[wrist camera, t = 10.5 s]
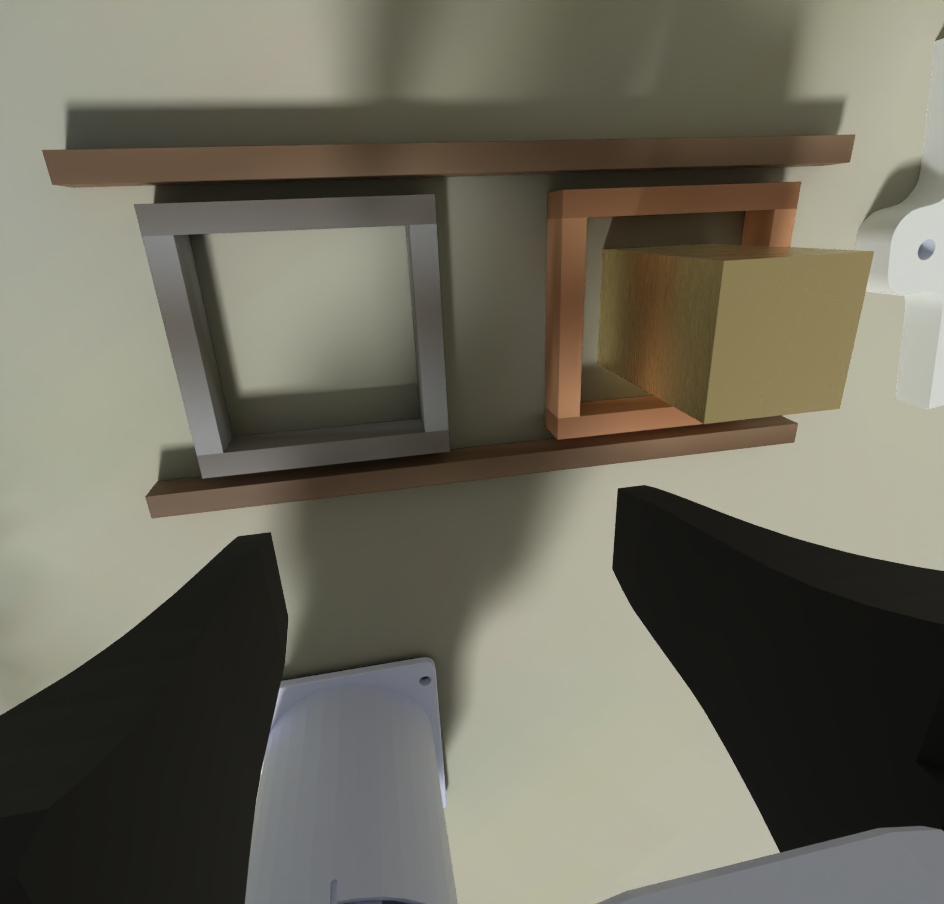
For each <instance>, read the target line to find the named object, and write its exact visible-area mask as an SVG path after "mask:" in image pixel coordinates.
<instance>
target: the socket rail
mask: <svg viewBox="0 0 944 904" xmlns="http://www.w3.org/2000/svg"><path fill="white" fill-rule="evenodd" d="M854 139H855V135H808V136H756V137H704V138H651V139H599V140H546V141H494V142H442V143H389V144H337V145H284V146H232V147H179V148H127V149H75V150H42V152H43V155H44V158H45V162H46V165H47V168H48V172H49V175H50V178H51V182H52V185H59V186H66V187H107V186H142V185H176V184H210V183H245V182H279V181H314V180H348V179H383V178H417V177H451V176H486V175H520V174H555V173H589V172H624V171H658V170H692V169H727V168H761V167H796V166H824V165H832V164H840V163H847V162H850V159H851V154H852V149H853V144H854ZM800 186H801V182H777V183H748V184H719V185H689V186H660V187H630V188H601V189H572V190H559V191H553V192H548V196H547V278H546V361H545V427H546V428H547V429H548V430H549V431H550V432H551V433H552V434H553V435H554V436H555V438H553V439H544V440H534V441H525V442H516V443H507V444H498V445H488V446H479V447H470V448H461V449H452V450H450V444H449V427H448V410H447V393H446V376H445V359H444V342H443V325H442V308H441V291H440V274H439V257H438V240H437V223H436V206H435V194H425V195H395V196H366V197H336V198H307V199H278V200H248V201H219V202H189V203H160V204H134V207H135V211H136V215H137V219H138V223H139V227H140V231H141V235H142V239H143V243H144V247H145V251H146V255H147V259H148V263H149V267H150V271H151V275H152V279H153V283H154V287H155V291H156V295H157V299H158V303H159V307H160V311H161V315H162V319H163V323H164V327H165V331H166V335H167V339H168V343H169V347H170V351H171V355H172V359H173V363H174V367H175V371H176V375H177V379H178V383H179V387H180V391H181V395H182V399H183V403H184V407H185V411H186V415H187V419H188V423H189V427H190V431H191V435H192V439H193V443H194V447H195V451H196V455H197V459H198V463H199V467H200V471H201V475H202V477H194V478H185V479H175V480H166V481H157V483H156V484H155V485H154V486H153V488H152V489H151V490H150V492H149V493H148V494H147V495H146V501H147V504H148V507H149V511H150V514H151V518H159V517H167V516H176V515H184V514H193V513H201V512H210V511H218V510H226V509H235V508H243V507H252V506H260V505H269V504H277V503H286V502H294V501H303V500H311V499H319V498H328V497H336V496H345V495H353V494H362V493H370V492H379V491H387V490H396V489H404V488H412V487H421V486H429V485H438V484H446V483H455V482H463V481H472V480H480V479H489V478H497V477H505V476H514V475H522V474H531V473H539V472H548V471H556V470H565V469H573V468H581V467H590V466H598V465H607V464H615V463H624V462H632V461H641V460H649V459H658V458H666V457H674V456H683V455H691V454H700V453H708V452H717V451H725V450H734V449H742V448H751V447H759V446H767V445H776V444H784V443H793V442H794V441H795V436H796V431H797V426H798V423H796V422H793V421H791V420H789V419H787V418H785V417H782V416H780V415H779V416H770V417H762V418H753V419H744V420H735V421H727V422H718V423H709V424H703V423H701V422H699V421H698V420H696V419H694V418H692V417H691V416H689V415H687V414H685V413H684V412H682V411H680V410H678V409H677V408H675V407H673V406H671V405H670V404H668V403H666V402H664V401H663V400H661V399H659V398H657V397H656V396H654V395H652V396H642V397H632V398H621V399H611V400H601V401H591V402H581V403H580V394H581V368H582V341H583V314H584V288H585V261H586V235H587V217H610V216H634V215H657V214H681V213H704V212H728V211H746V213H745V220H744V227H743V235H742V242H741V245H753V246H774V247H790V244H791V239H792V233H793V227H794V221H795V215H796V209H797V203H798V198H799V192H800ZM400 225H406V238H407V251H408V263H409V276H410V289H411V301H412V314H413V327H414V339H415V352H416V365H417V378H418V390H419V403H420V416H421V418H419V419H409V420H398V421H388V422H378V423H368V424H358V425H348V426H338V427H327V428H317V429H307V430H297V431H287V432H277V433H267V434H256V435H246V436H236V437H233V435H232V431H231V426H230V422H229V417H228V413H227V408H226V403H225V399H224V394H223V390H222V385H221V381H220V376H219V372H218V367H217V362H216V358H215V353H214V349H213V344H212V340H211V335H210V331H209V326H208V321H207V317H206V312H205V308H204V303H203V299H202V294H201V290H200V285H199V280H198V276H197V271H196V267H195V262H194V258H193V253H192V249H191V244H190V239H189V234H212V233H235V232H259V231H282V230H306V229H329V228H353V227H376V226H400Z"/></svg>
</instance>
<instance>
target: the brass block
mask: <svg viewBox="0 0 944 904" xmlns="http://www.w3.org/2000/svg"><path fill="white" fill-rule="evenodd" d="M873 255H874V251H857V250H836V249H816V248H795V247H774V246H753V245H732V244H711V243H706V244H689V245H672V246H655V247H638V248H621V249H603V250H602V271H601V294H600V317H599V340H598V362H597V363H598V364H599V365H601V366H603V367H605V368H606V369H608V370H610V371H612V372H613V373H615V374H617V375H619V376H620V377H622V378H624V379H626V380H627V381H629V382H631V383H633V384H634V385H636V386H638V387H640V388H642V389H643V390H645V391H647V392H649V393H650V394H652V395H654V396H656V397H657V398H659V399H661V400H663V401H664V402H666V403H668V404H670V405H671V406H673V407H675V408H677V409H678V410H680V411H682V412H684V413H685V414H687V415H689V416H691V417H692V418H694V419H696V420H698V421H699V422H701V423H703V424H709V423H718V422H727V421H735V420H744V419H753V418H762V417H770V416H779V415H788V414H797V413H806V412H814V411H823V410H832V409H840V405H841V400H842V396H843V391H844V387H845V382H846V378H847V373H848V368H849V364H850V359H851V355H852V350H853V346H854V341H855V337H856V332H857V328H858V323H859V319H860V314H861V310H862V305H863V301H864V296H865V291H866V287H867V282H868V278H869V273H870V269H871V264H872V260H873Z"/></svg>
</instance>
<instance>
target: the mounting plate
mask: <svg viewBox="0 0 944 904" xmlns="http://www.w3.org/2000/svg"><path fill="white" fill-rule="evenodd" d="M854 250H857V251H874V255H873V260H872V264H871V269H870V273H869V278H868V282H867V287H866V291H868V292H876V293H883V294H891V295H899V296H904V298H905V315H904V324H903V333H902V342H901V351H900V360H899V369H898V378H897V387H896V396H895V399H898V400H901V401H904V402H907V403H910V404H913V405H916V406H920V407H923V408H926V409H932V408H935V407H939V406H942V405H944V38H943V39H940V40H937V41H935V44H934V53H933V62H932V71H931V80H930V89H929V98H928V107H927V116H926V125H925V134H924V143H923V152H922V161H921V170H920V175H919V179H918V182H917V184H916V186H915V188H914V190H913V191H912V193H911V194H910V195H909V196H908V197H907V198H906V199H905V200H904V201H902V202H901V203H900V204H897V205H895V206H892V207H888V208H884V209H880V210H878V211H875V212H874V213H872V214H871V215H869V216H868V217H867V218H866V219H865V220H864V222H863V223H862V225H861V226H860V228H859V230H858V232H857V235H856V239H855V246H854Z"/></svg>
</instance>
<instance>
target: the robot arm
mask: <svg viewBox="0 0 944 904" xmlns="http://www.w3.org/2000/svg"><path fill="white" fill-rule="evenodd" d="M612 569H613V571H614V573H615V575H616V577H617V579H618V581H619V583H620V586H621V588H622V590H623V591H624V593H625V595H626V597H627V599H628V601H629V603H630V605H631V606H632V608H633V609H634V611H635V612H636V614H637V615H638V617H639V618H640V620H641V621H642V622H643V624H644V625H645V627H646V628H647V630H648V631H649V632H650V634H651V635H652V637H653V638H654V640H655V641H656V642H657V644H658V645H659V646H660V648H661V649H662V651H663V652H664V653H665V655H666V656H667V658H668V659H669V660H670V662H671V663H672V665H673V666H674V667H675V669H676V670H677V672H678V673H679V674H680V676H681V677H682V678H683V680H684V681H685V683H686V684H687V685H688V687H689V688H690V690H691V691H692V693H693V694H694V696H695V697H696V699H697V700H698V702H699V703H700V705H701V706H702V708H703V709H704V711H705V713H706V714H707V716H708V718H709V720H710V721H711V723H712V725H713V727H714V728H715V730H716V732H717V734H718V735H719V737H720V739H721V741H722V742H723V744H724V746H725V748H726V749H727V751H728V753H729V755H730V756H731V758H732V760H733V762H734V764H735V766H736V768H737V769H738V771H739V773H740V775H741V777H742V779H743V781H744V783H745V784H746V786H747V788H748V790H749V792H750V794H751V796H752V798H753V799H754V801H755V803H756V805H757V807H758V809H759V811H760V813H761V815H762V817H763V819H764V821H765V823H766V825H767V827H768V829H769V831H770V833H771V835H772V837H773V839H774V841H775V843H776V845H777V847H778V849H779V851H780V853H777V854H773V855H769V856H765V857H761V858H757V859H753V860H749V861H745V862H741V863H737V864H733V865H729V866H725V867H721V868H717V869H713V870H709V871H705V872H701V873H697V874H693V875H689V876H685V877H681V878H677V879H673V880H669V881H665V882H661V883H657V884H653V885H649V886H645V887H641V888H637V889H633V890H629V891H626V892H623V893H621V894H619V895H616V896H614V897H611V898H609V899H607V900H604V901H602V902H599V903H597V904H944V571H939V570H933V569H927V568H921V567H915V566H909V565H904V564H899V563H894V562H889V561H884V560H879V559H874V558H869V557H865V556H860V555H856V554H852V553H847V552H843V551H840V550H836V549H832V548H828V547H825V546H821V545H817V544H813V543H810V542H806V541H803V540H799V539H796V538H793V537H789V536H786V535H783V534H780V533H777V532H774V531H771V530H768V529H765V528H762V527H759V526H756V525H754V524H751V523H748V522H745V521H742V520H740V519H737V518H734V517H732V516H729V515H726V514H724V513H721V512H719V511H716V510H713V509H711V508H708V507H706V506H703V505H700V504H698V503H695V502H693V501H690V500H688V499H685V498H682V497H680V496H677V495H674V494H672V493H669V492H666V491H663V490H660V489H657V488H654V487H650V486H646V485H642V486H634V487H626V488H619V489H618V495H617V509H616V524H615V538H614V553H613V567H612ZM287 629H288V614H287V609H286V604H285V599H284V594H283V590H282V585H281V580H280V575H279V570H278V565H277V560H276V556H275V551H274V546H273V541H272V536H271V532H270V533H262V534H254V535H246V536H238V537H237V538H236V539H234V540H233V541H232V542H231V543H230V544H228V545H227V546H226V547H225V548H224V549H223V550H222V551H221V552H220V553H219V554H217V555H216V556H215V557H214V558H213V559H212V560H211V561H210V562H209V563H208V564H207V565H206V566H205V567H204V568H202V569H201V570H200V571H199V572H198V573H197V574H196V575H195V576H194V577H193V578H192V579H190V580H189V581H188V582H187V583H186V584H185V585H184V586H183V587H182V588H181V589H179V590H178V591H177V592H176V593H175V594H174V595H173V596H171V597H170V598H169V599H168V600H167V601H165V602H164V603H163V604H162V605H161V606H159V607H158V608H157V609H156V610H155V611H153V612H152V613H151V614H150V615H149V616H147V617H146V618H145V619H144V620H142V621H141V622H140V623H139V624H138V625H136V626H135V627H134V628H133V629H131V630H130V631H129V632H128V633H126V634H125V635H124V636H122V637H121V638H120V639H118V640H117V641H116V642H114V643H113V644H112V645H110V646H109V647H107V648H106V649H105V650H103V651H102V652H100V653H99V654H97V655H96V656H95V657H93V658H92V659H90V660H89V661H87V662H86V663H84V664H83V665H82V666H80V667H79V668H77V669H76V670H74V671H73V672H71V673H70V674H68V675H67V676H65V677H63V678H62V679H60V680H58V681H57V682H55V683H53V684H52V685H50V686H48V687H47V688H45V689H44V690H42V691H40V692H39V693H37V694H35V695H34V696H32V697H30V698H29V699H27V700H25V701H24V702H22V703H20V704H19V705H17V706H16V707H14V708H12V709H11V710H9V711H7V712H6V713H4V714H2V715H0V904H458V902H457V895H456V889H455V882H454V875H453V869H452V862H451V855H450V848H449V842H448V835H447V828H446V821H445V815H444V808H445V807H446V805H447V799H446V787H445V775H444V763H443V751H442V739H441V727H440V715H439V703H438V691H437V679H436V668H435V664H434V661H433V660H432V659H430V658H427V657H422V658H416V659H410V660H404V661H398V662H392V663H386V664H380V665H374V666H368V667H362V668H356V669H350V670H345V671H339V672H333V673H327V674H321V675H315V676H309V677H303V678H297V679H291V680H285V681H281V679H282V674H283V669H284V664H285V654H286V643H287ZM424 676H428V678H426V679H421V678H422V677H424ZM260 775H261V780H260ZM259 781H260V785H259ZM258 787H259V791H258ZM257 792H258V797H257ZM256 798H257V803H256ZM255 805H256V808H255Z"/></svg>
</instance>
